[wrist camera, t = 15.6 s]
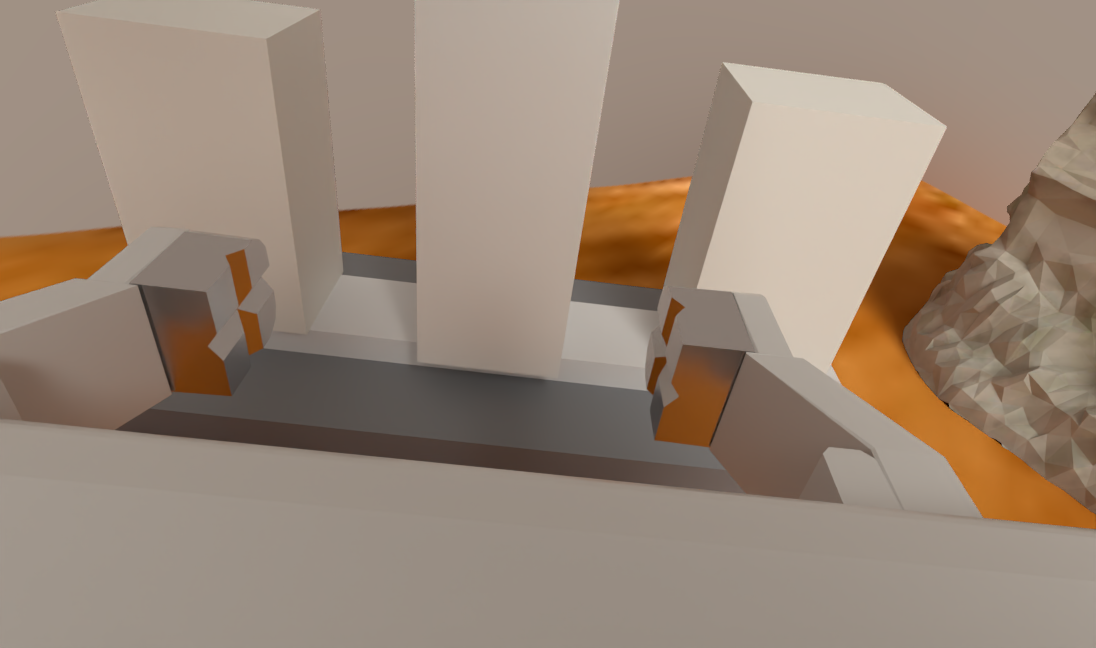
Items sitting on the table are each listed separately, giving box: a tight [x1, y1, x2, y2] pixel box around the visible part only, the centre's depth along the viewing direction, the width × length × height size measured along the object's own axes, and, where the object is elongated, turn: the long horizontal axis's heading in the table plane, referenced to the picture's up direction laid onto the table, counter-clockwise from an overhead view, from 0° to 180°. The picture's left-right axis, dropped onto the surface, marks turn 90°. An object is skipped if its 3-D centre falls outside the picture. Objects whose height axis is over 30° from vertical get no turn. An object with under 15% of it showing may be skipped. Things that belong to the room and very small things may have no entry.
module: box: [414, 0, 620, 378], centre depth 19 cm, size 4×6×11 cm
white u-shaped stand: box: [55, 0, 947, 494], centre depth 20 cm, size 25×10×12 cm, turn 88°
